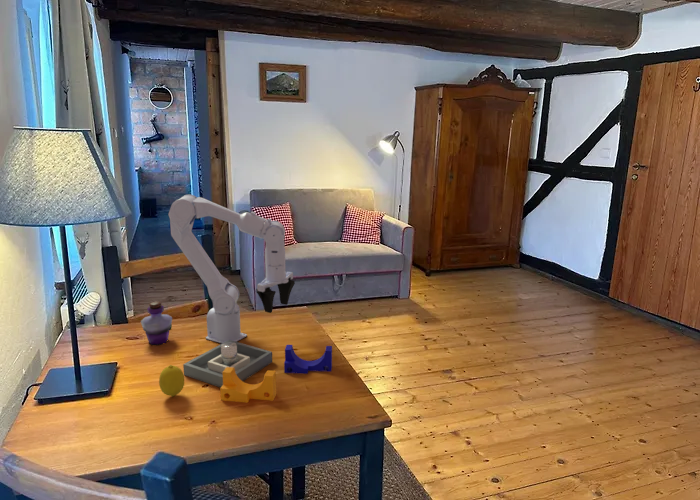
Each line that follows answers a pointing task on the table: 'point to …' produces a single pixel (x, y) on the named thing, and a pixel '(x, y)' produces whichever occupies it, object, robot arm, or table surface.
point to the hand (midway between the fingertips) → (276, 307)
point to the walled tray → (212, 368)
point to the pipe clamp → (247, 387)
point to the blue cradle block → (306, 362)
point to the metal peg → (229, 353)
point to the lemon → (171, 380)
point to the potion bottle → (157, 324)
